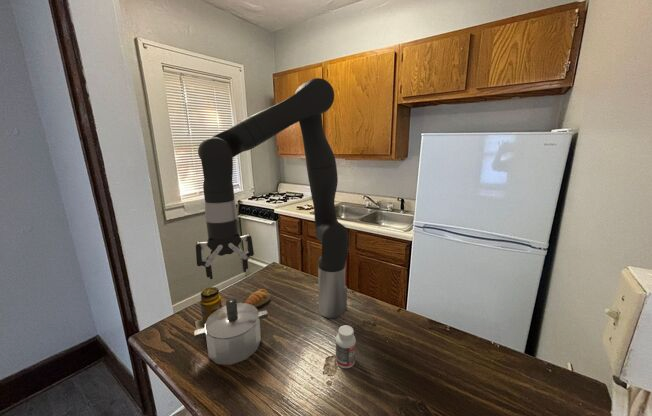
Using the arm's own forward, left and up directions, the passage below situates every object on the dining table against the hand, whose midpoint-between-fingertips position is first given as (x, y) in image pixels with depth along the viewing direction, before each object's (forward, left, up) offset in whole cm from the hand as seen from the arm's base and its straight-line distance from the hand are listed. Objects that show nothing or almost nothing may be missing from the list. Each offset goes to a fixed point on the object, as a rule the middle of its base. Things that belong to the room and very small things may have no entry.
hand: (228, 274), depth 69 cm
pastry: (-11, -18, -23) cm, 31 cm away
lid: (0, 0, -16) cm, 16 cm away
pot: (0, 0, -23) cm, 23 cm away
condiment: (+6, -13, -23) cm, 27 cm away
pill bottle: (-26, +20, -23) cm, 40 cm away
